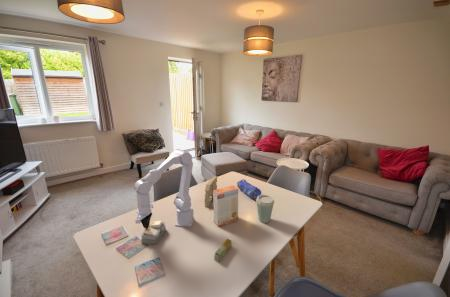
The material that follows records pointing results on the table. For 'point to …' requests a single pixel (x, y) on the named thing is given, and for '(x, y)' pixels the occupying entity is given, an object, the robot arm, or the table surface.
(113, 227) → the table surface
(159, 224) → the breaker
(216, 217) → the cracker box
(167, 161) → the robot arm
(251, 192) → the pencil case
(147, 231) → the breaker
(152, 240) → the breaker panel
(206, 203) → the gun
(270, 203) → the disposable coffee cup
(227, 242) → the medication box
